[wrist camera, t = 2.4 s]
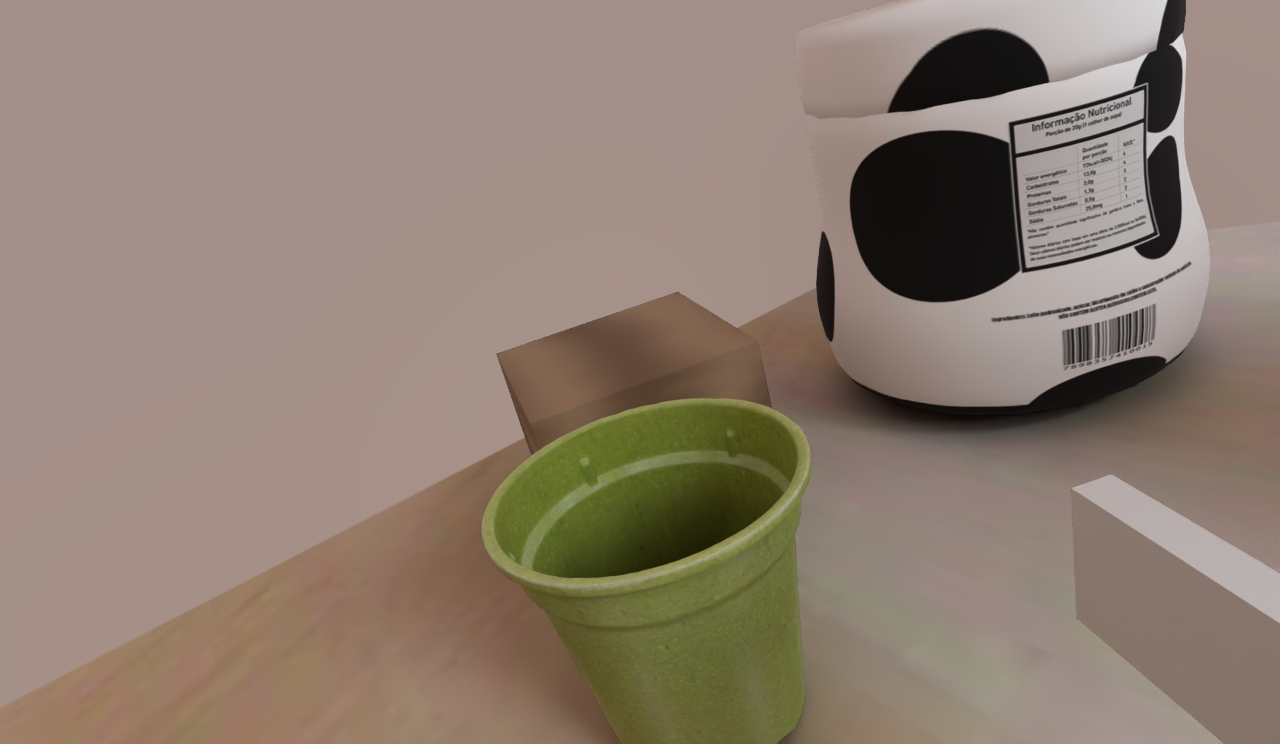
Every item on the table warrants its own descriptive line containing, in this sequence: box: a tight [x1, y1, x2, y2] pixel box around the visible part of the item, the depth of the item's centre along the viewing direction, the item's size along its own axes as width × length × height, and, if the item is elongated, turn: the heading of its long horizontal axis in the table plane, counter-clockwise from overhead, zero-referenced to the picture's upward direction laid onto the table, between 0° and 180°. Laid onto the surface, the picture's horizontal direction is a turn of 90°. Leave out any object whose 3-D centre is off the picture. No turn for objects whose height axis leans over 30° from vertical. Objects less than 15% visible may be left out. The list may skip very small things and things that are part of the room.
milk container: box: [797, 0, 1210, 415], centre depth 39 cm, size 17×17×18 cm
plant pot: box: [481, 398, 812, 744], centre depth 24 cm, size 9×9×9 cm
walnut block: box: [497, 292, 772, 455], centre depth 39 cm, size 10×10×7 cm
